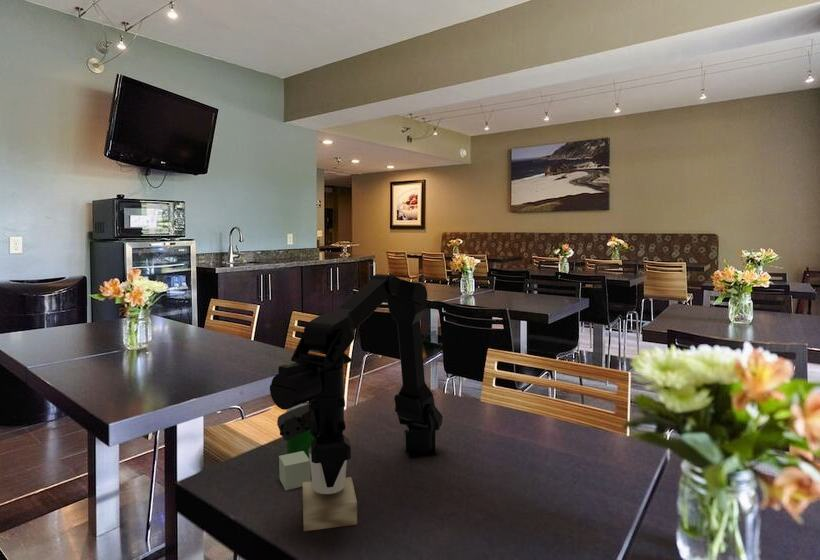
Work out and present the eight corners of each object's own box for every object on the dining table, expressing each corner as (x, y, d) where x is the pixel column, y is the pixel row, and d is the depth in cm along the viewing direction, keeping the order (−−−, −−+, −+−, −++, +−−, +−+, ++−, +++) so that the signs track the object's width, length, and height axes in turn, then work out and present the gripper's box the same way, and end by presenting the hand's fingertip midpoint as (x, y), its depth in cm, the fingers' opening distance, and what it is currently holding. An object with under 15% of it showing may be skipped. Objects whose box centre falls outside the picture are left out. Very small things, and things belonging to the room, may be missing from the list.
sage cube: (303, 474, 104) (303, 450, 103) (310, 484, 99) (310, 460, 99) (279, 479, 101) (279, 455, 101) (285, 490, 97) (284, 466, 96)
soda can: (313, 468, 106) (312, 413, 105) (281, 464, 108) (279, 410, 106) (326, 452, 113) (325, 401, 112) (295, 449, 115) (294, 399, 114)
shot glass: (315, 499, 84) (314, 460, 83) (304, 481, 90) (303, 444, 89) (354, 490, 87) (353, 451, 86) (340, 473, 93) (340, 437, 92)
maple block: (351, 497, 94) (351, 477, 94) (357, 524, 86) (356, 502, 85) (303, 502, 92) (302, 482, 92) (303, 531, 84) (303, 508, 83)
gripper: (281, 379, 94) (283, 458, 96) (277, 415, 76) (280, 512, 78) (340, 375, 97) (341, 453, 98) (350, 409, 78) (351, 503, 80)
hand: (328, 477), depth 88 cm, fingers open, 6 cm apart
